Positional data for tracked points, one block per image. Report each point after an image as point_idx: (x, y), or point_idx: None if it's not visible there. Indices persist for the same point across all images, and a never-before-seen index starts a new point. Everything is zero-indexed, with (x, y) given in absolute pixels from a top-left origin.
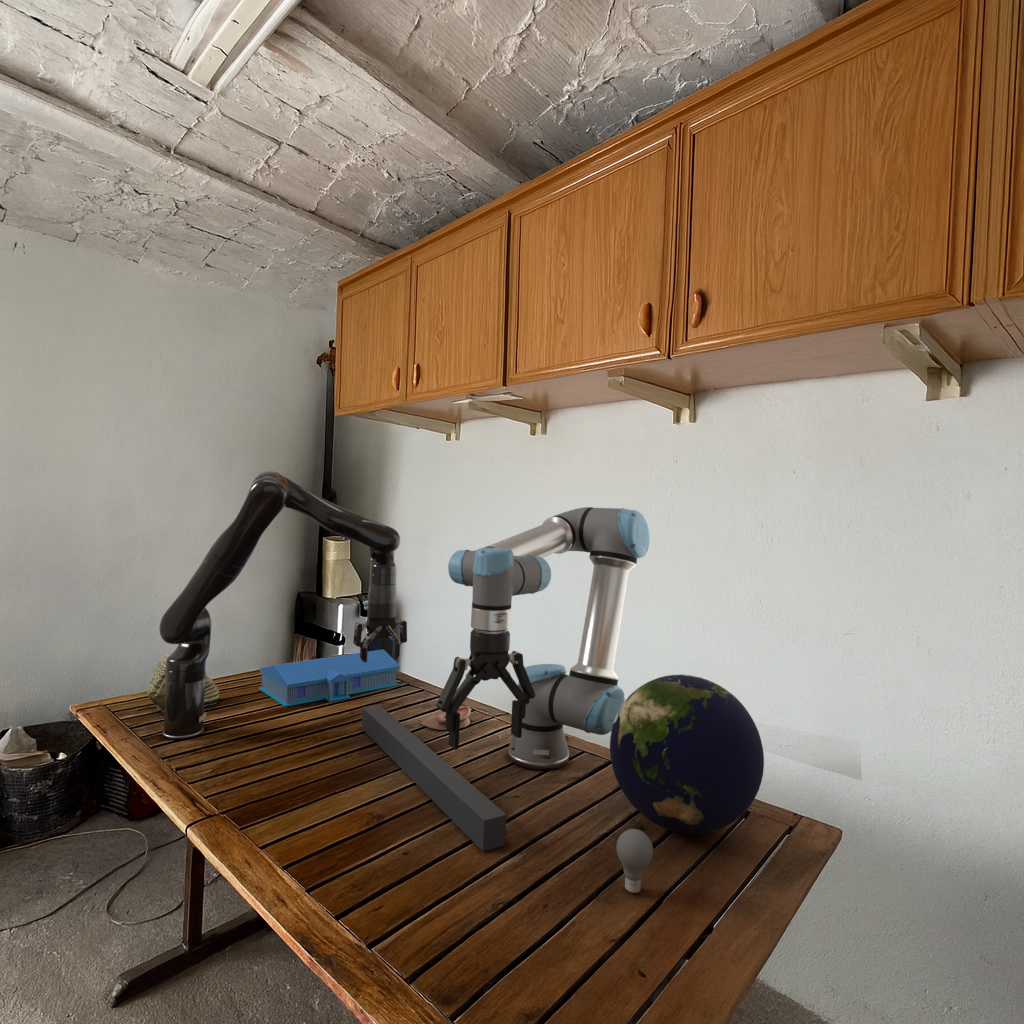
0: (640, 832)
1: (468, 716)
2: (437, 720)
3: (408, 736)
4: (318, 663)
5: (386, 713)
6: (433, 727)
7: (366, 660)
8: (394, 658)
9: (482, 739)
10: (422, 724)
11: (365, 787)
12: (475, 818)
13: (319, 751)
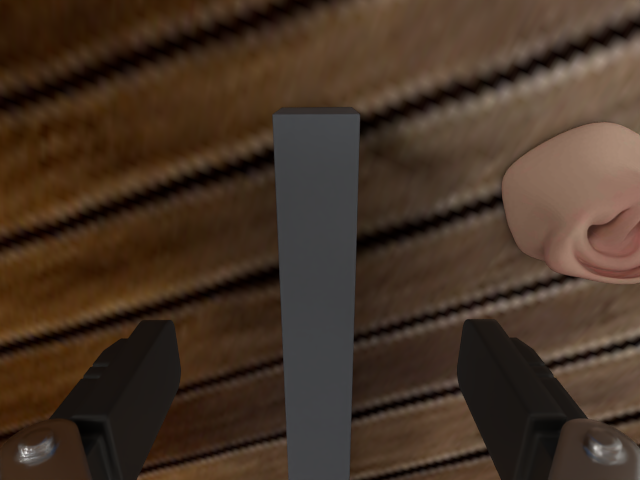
0: None
1: None
2: (547, 241)
3: (328, 455)
4: None
5: (346, 240)
6: (517, 239)
7: (171, 391)
8: (460, 369)
9: (594, 364)
10: (502, 189)
11: (187, 477)
12: None
13: (102, 256)
